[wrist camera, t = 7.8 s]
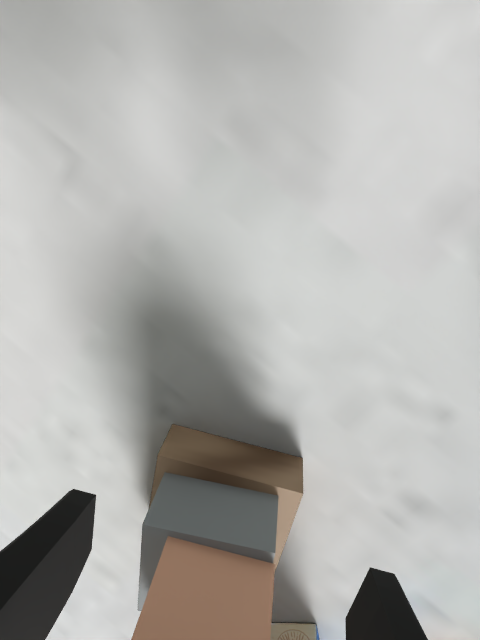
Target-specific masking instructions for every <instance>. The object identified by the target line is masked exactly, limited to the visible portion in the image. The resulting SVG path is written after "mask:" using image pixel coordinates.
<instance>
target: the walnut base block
mask: <svg viewBox="0 0 480 640" xmlns="http://www.w3.org/2000/svg"><path fill="white" fill-rule="evenodd" d="M165 472H166V473H171V474H176V475H181V476H186V477H191V478H196V479H200V480H205V481H210V482H215V483H220V484H225V485H229V486H234V487H239V488H244V489H249V490H254V491H258V492H263V493H268V494H273V495H278V496H279V498H278V516H277V534H276V551H275V557H274V561H273V564H275V570H276V567H277V565H278V562H279V559H280V556H281V554H282V551H283V548H284V545H285V543H286V540H287V537H288V534H289V532H290V529H291V526H292V523H293V521H294V518H295V515H296V512H297V510H298V507H299V504H300V501H301V498H302V496H303V458H301V457H297V456H293V455H289V454H285V453H281V452H278V451H274V450H270V449H266V448H262V447H258V446H255V445H251V444H247V443H243V442H239V441H235V440H232V439H228V438H224V437H220V436H216V435H213V434H209V433H205V432H201V431H197V430H193V429H190V428H186V427H182V426H178V425H174V424H172V426H171V428H170V430H169V432H168V434H167V437H166V439H165V441H164V443H163V445H162V447H161V449H160V451H159V453H158V456H157V462H156V468H155V474H154V480H153V486H152V493H151V499H150V505H149V508H150V506H151V503H152V501H153V499H154V496H155V494H156V492H157V489H158V487H159V484H160V482H161V480H162V477H163V475H164V473H165Z"/></svg>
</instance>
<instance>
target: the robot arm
mask: <svg viewBox="0 0 480 640" xmlns="http://www.w3.org/2000/svg"><path fill="white" fill-rule="evenodd" d="M95 501H96V495H94V494H91V493H87V492H83V491H79V490H75V489H73V490H71V491H69V492H68V493H67V494H66V495H65V496H64V497H63V498H62V499H61V500H59V501H58V502H57V503H56V504H55V505H54V506H53V507H52V508H51V509H50V510H48V511H47V512H46V513H45V514H44V515H43V516H42V517H41V518H39V519H38V520H37V521H36V522H35V523H34V524H33V525H31V526H30V527H29V528H28V529H27V530H26V531H24V532H23V533H22V534H21V535H20V536H18V537H17V538H16V539H15V540H14V541H12V542H11V543H10V544H9V545H8V546H6V547H5V548H4V549H3V550H1V551H0V640H45V639H46V637H47V636H48V634H49V632H50V630H51V629H52V627H53V625H54V623H55V622H56V620H57V618H58V616H59V615H60V613H61V611H62V609H63V607H64V606H65V604H66V602H67V600H68V599H69V597H70V595H71V593H72V591H73V589H74V587H75V585H76V583H77V581H78V578H79V576H80V574H81V572H82V570H83V567H84V565H85V563H86V561H87V558H88V556H89V554H90V552H91V549H92V538H93V526H94V513H95ZM346 640H428V639H427V637H426V635H425V633H424V631H423V629H422V627H421V625H420V623H419V621H418V620H417V618H416V616H415V614H414V612H413V610H412V608H411V606H410V604H409V602H408V600H407V598H406V596H405V594H404V592H403V590H402V588H401V586H400V584H399V582H398V580H397V578H396V576H395V574H393V573H389V572H385V571H381V570H378V569H374V568H370V569H369V571H368V573H367V575H366V577H365V579H364V581H363V583H362V585H361V587H360V589H359V592H358V594H357V596H356V598H355V600H354V602H353V604H352V606H351V608H350V610H349V612H348V614H347V616H346Z"/></svg>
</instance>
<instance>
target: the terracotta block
mask: <svg viewBox="0 0 480 640" xmlns="http://www.w3.org/2000/svg"><path fill="white" fill-rule="evenodd" d="M274 573H275V564H273V563H269V562H265V561H261V560H258V559H254V558H250V557H246V556H242V555H238V554H235V553H231V552H227V551H223V550H219V549H216V548H212V547H208V546H204V545H200V544H196V543H193V542H189V541H185V540H181V539H177V538H173V537H170V536H168V537H167V540H166V543H165V546H164V548H163V551H162V554H161V557H160V560H159V563H158V565H157V568H156V571H155V574H154V577H153V580H152V582H151V585H150V588H149V591H148V594H147V597H146V599H145V602H144V605H143V608H142V611H141V614H140V617H139V619H138V622H137V625H136V628H135V631H134V634H133V636H132V639H131V640H270V637H271V621H272V605H273V589H274Z"/></svg>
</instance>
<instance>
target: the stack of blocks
mask: <svg viewBox="0 0 480 640" xmlns="http://www.w3.org/2000/svg"><path fill="white" fill-rule="evenodd" d="M270 640H319V635H318V630H317V625H316V624H298V623H271V637H270Z"/></svg>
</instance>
